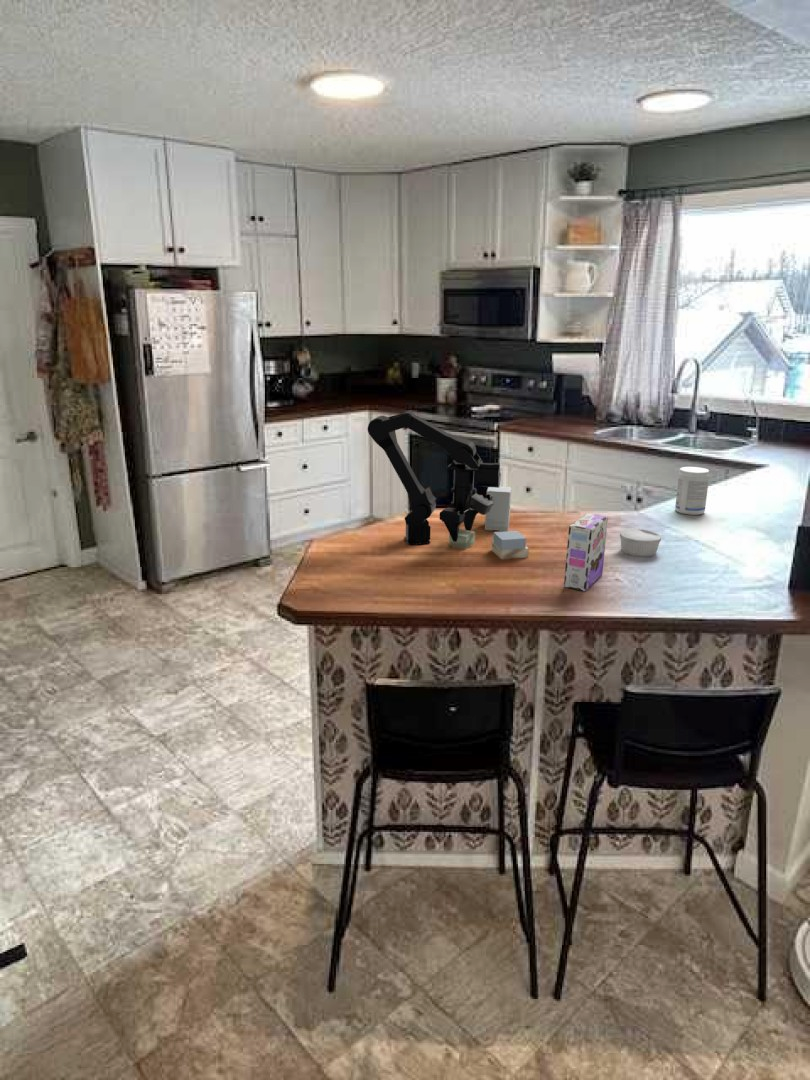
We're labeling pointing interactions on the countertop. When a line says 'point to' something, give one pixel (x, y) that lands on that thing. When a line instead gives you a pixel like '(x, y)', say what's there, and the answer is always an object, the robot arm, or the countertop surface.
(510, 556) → the birch base block
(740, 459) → the countertop surface
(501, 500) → the supplement box
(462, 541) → the green block
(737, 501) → the countertop surface
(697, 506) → the supplement tub
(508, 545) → the slate blue top block
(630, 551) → the ramekin
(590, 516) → the candy box
